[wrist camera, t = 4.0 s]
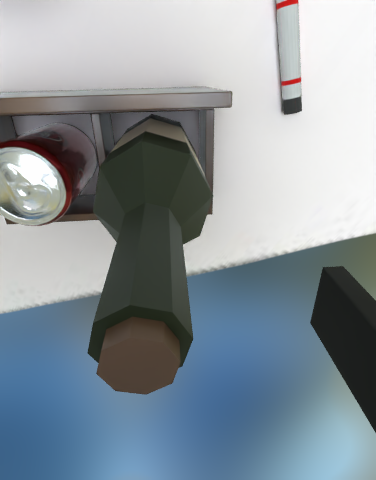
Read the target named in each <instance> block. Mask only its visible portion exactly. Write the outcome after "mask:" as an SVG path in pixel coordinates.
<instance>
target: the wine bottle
mask: <svg viewBox="0 0 376 480" xmlns="http://www.w3.org/2000/svg"><path fill="white" fill-rule="evenodd" d="M212 198H213V194H212V191H211V189H210V187H209V184H208V182H207V180H206V177H205V175H204V172H203V170H202V168H201V165H200V163H199V161H198V158H197V156H196V153H195V151H194V149H193V147H192V145H191V143H190V141H189V139H188V137H187V135H186V133H185V132H184V130H183V128H182V126H181V124H180V122H177V121H174V120H170V119H167V118H164V117H160V116H157V115H153V114H151V115H149V116H148V117H146V118H145V119H143V120H141V121H140V122H138V123H137V124H135V125H133V126H132V127H130V128H128V129H127V131H126V132H125V133H124V135H123V136H122V137H121V139H120V140H119V141H118V143H117V144H116V145H115V147H114V148H113V150H112V151H111V152H110V154H109V155H108V156H107V158H106V159H105V160H104V162H103V163H102V164H101V166H100V168H99V175H98V181H97V188H96V194H95V201H94V208H93V212H94V214H95V215H96V216H97V218H98V219H99V220H100V221H101V223H102V224H103V225H104V226H105V228H106V229H107V230H108V232H109V233H110V234H111V235H112V237H113V238H114V239H115V241H116V242H117V243H116V247H115V250H114V253H113V257H112V260H111V264H110V267H109V271H108V274H107V277H106V281H105V284H104V288H103V291H102V295H101V298H100V302H99V305H98V308H97V312H96V315H95V319H94V322H93V327H92V332H91V337H90V343H89V348H88V354H89V355H90V356H91V357H92V358H94V360H96V361H97V362H98V363H99V364H98V369H97V375H98V376H100V377H101V378H102V379H103V380H104V381H105V382H106V383H107V384H108V385H110V386H111V387H112V388H113V389H114V390H115V391H120V392H129V393H137V394H149V393H151V392H153V391H155V390H158V389H160V388H162V387H165V386H167V385H169V384H172V383H173V380H174V378H175V375H176V373H177V370H178V368H179V367H182V366H183V363H184V361H185V358H186V356H187V353H188V350H189V348H190V345H191V343H192V341H193V333H192V324H191V314H190V305H189V296H188V288H187V278H186V269H185V261H184V252H183V244H185V243H187V242H189V241H191V240H193V239H194V238H196V237H198V236H200V234H201V231H202V228H203V225H204V222H205V219H206V216H207V213H208V210H209V207H210V204H211V201H212Z"/></svg>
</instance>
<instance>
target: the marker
mask: <svg viewBox="0 0 376 480" xmlns="http://www.w3.org/2000/svg"><path fill="white" fill-rule="evenodd" d="M276 9H277V24H278V40H279V55H280V71H281V86H282V100H283V111H284V114H293V113H297V112H300V111H302V103H301V96H302V92H301V64H300V37H299V9H298V0H276Z"/></svg>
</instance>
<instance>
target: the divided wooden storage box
mask: <svg viewBox="0 0 376 480" xmlns="http://www.w3.org/2000/svg"><path fill="white" fill-rule="evenodd" d="M231 106H232V92H231V91H227V90H221V89H215V88H210V87H179V88H142V89H104V90H67V91H29V92H0V143H1V142H3V141H6V140H9V139H11V138H14V137H16V133H15V129H14V126H13V122H12V119H11V116H27V115H59V114H91V120H92V126H93V132H94V138H95V144H96V150H97V156H98V163H99V168H100V166H101V164H102V163H103V162H104V160H105V159H106V158H107V156H108V155H109V154H110V152H111V151H112V150H113V148H114V147H115V145H114V138H113V130H112V123H111V116H110V113H124V112H157V111H189V110H199V163H200V165H201V168H202V170H203V172H204V175H205V177H206V180H207V182H208V184H209V187H210V189H211V191H212V194H213V151H214V108H230V107H231ZM94 201H95V195H84V196H77V198H76V199H75V200H74V202H73V203H72V205H71V206H70V207H69V209H68V210H67V211H66V212H65V214H64V215H63V216H62V217H61V218H59V219H58V220H57V221H54V222H65V221H85V220H99V219H98V218H97V216H96V215H95V214H94V212H93V208H94ZM212 207H213V198H212V201H211V204H210V207H209V210H208V213H207V215H208V214H212ZM5 220H6V223H7V224H19V223H15V222H13V221H11V220H9V219H7V218H5Z"/></svg>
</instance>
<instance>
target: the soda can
mask: <svg viewBox="0 0 376 480" xmlns="http://www.w3.org/2000/svg"><path fill="white" fill-rule="evenodd" d="M96 166H97V156H96V151H95V148H94V146H93V144H92V142H91V141H90V139H89V138H88V137H87V136H86V135H85V134H84V133H83V132H82V131H81V130H79V129H77V128H76V127H74V126H71V125H69V124H64V123H52V124H48V125H45V126H42V127H40V128H37V129H35V130H32V131H29V132H27V133H24V134H22V135H19V136H16V137H14V138H11V139H9V140H6V141H3V142H1V143H0V214H1V215H2V216H4V217H5V218H7V219H9V220H11V221H13V222H15V223H19V224H22V225H28V226H42V225H46V224H50V223H52V222H54V221H57V220H58V219H59V218H61V217H62V216H63V215H64V214H65V212H66V211H67V210H68V209H69V207H70V206H71V205H72V203H73V202H74V200H75V199H76V198H77V196H78V195H79V194H80V192H81V191H82V190H83V188H84V187H85V186H86V184H87V183H88V182H89V180H90V179H91V178H92V176H93V174H94V172H95V170H96Z"/></svg>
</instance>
